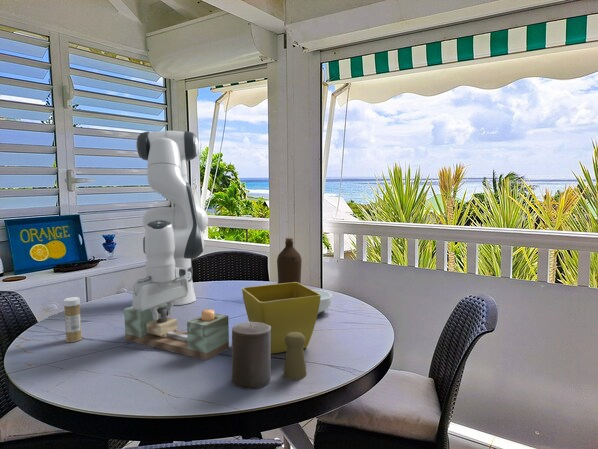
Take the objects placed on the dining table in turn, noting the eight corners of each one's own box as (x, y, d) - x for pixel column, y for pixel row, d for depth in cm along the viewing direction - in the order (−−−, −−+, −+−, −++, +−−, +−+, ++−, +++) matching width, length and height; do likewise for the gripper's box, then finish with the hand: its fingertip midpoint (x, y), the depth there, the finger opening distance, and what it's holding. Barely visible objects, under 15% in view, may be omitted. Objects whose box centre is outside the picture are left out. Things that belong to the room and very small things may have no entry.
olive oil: (306, 294, 192) (306, 237, 189) (291, 299, 184) (290, 240, 181) (288, 290, 199) (287, 235, 196) (272, 295, 190) (271, 238, 188)
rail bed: (125, 339, 138) (124, 308, 137) (150, 330, 147) (148, 301, 146) (206, 360, 123) (206, 325, 122) (228, 348, 131) (228, 315, 130)
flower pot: (241, 338, 139) (241, 286, 138) (296, 330, 147) (296, 281, 145) (260, 361, 122) (260, 302, 120) (322, 350, 129) (322, 295, 128)
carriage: (146, 335, 136) (145, 310, 135) (163, 328, 142) (162, 304, 141) (161, 339, 133) (160, 313, 132) (177, 332, 139) (176, 307, 138)
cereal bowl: (337, 309, 171) (338, 291, 170) (321, 321, 156) (321, 302, 155) (298, 304, 178) (298, 287, 177) (279, 315, 163) (279, 297, 162)
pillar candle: (238, 392, 104) (238, 331, 103) (227, 375, 113) (227, 318, 112) (276, 385, 108) (276, 326, 107) (263, 369, 117) (263, 314, 115)
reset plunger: (199, 325, 127) (198, 312, 127) (207, 321, 130) (207, 308, 130) (209, 327, 125) (208, 313, 125) (217, 323, 129) (216, 310, 128)
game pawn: (282, 369, 117) (282, 329, 115) (305, 368, 117) (305, 328, 116) (284, 380, 111) (283, 337, 109) (307, 379, 111) (307, 337, 110)
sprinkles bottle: (82, 336, 141) (79, 295, 140) (81, 341, 137) (79, 299, 136) (65, 339, 139) (63, 297, 138) (65, 343, 135) (62, 301, 134)
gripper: (141, 281, 125) (143, 329, 126) (191, 268, 142) (192, 310, 144) (126, 279, 128) (128, 325, 129) (176, 266, 145) (177, 307, 147)
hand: (162, 317), depth 137 cm, fingers closed on carriage, 3 cm apart
